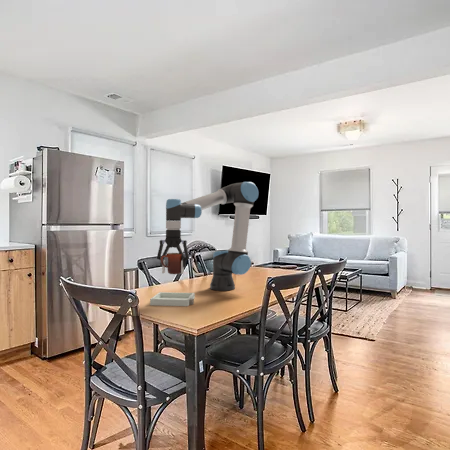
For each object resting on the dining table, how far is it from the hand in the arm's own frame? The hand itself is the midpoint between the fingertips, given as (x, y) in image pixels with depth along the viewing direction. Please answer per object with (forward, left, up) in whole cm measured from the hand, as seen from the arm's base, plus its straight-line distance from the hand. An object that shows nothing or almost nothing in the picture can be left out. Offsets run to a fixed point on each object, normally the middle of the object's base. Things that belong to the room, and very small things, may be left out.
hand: (173, 273), depth 182 cm
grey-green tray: (0, 0, -15) cm, 15 cm away
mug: (+1, 0, 0) cm, 1 cm away
